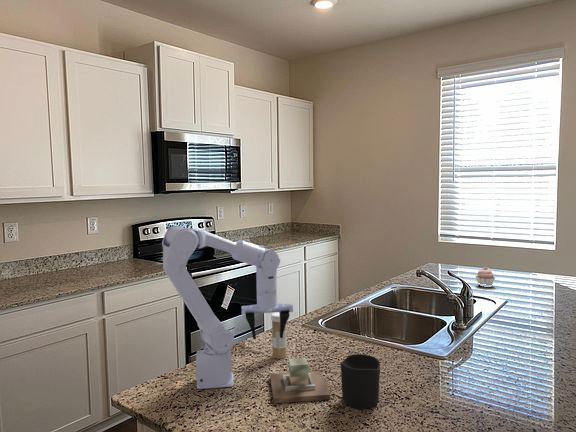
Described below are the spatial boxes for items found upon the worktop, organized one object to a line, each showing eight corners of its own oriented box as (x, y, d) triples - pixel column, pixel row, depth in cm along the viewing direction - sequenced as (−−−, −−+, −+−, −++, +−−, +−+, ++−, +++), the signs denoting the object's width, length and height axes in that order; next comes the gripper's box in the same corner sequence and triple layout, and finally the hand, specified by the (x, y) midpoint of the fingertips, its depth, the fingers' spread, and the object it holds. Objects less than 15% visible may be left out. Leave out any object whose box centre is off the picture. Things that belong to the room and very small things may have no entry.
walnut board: (274, 403, 109) (273, 394, 109) (270, 378, 123) (269, 370, 123) (330, 399, 111) (330, 390, 111) (320, 375, 125) (320, 367, 125)
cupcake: (477, 288, 219) (477, 268, 218) (473, 284, 228) (473, 264, 227) (498, 288, 217) (498, 268, 216) (492, 284, 226) (492, 264, 226)
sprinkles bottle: (271, 354, 141) (270, 311, 140) (286, 353, 141) (285, 311, 140) (272, 359, 136) (271, 316, 135) (287, 358, 136) (286, 315, 135)
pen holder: (387, 407, 106) (387, 366, 106) (350, 414, 104) (350, 372, 103) (369, 390, 115) (368, 352, 115) (335, 395, 113) (334, 356, 112)
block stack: (291, 388, 114) (290, 365, 114) (289, 380, 119) (288, 358, 118) (308, 387, 115) (308, 364, 114) (305, 379, 119) (305, 357, 119)
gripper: (241, 295, 123) (242, 343, 124) (293, 293, 124) (294, 340, 125) (241, 289, 130) (242, 335, 131) (290, 287, 131) (291, 332, 132)
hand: (267, 337), depth 128 cm, fingers open, 7 cm apart
